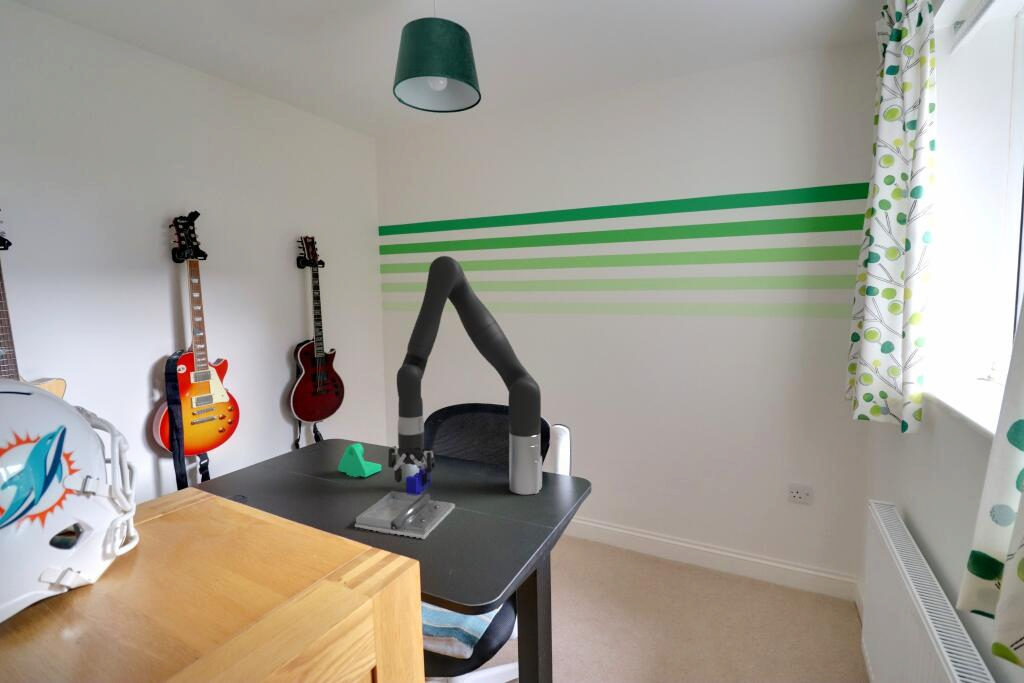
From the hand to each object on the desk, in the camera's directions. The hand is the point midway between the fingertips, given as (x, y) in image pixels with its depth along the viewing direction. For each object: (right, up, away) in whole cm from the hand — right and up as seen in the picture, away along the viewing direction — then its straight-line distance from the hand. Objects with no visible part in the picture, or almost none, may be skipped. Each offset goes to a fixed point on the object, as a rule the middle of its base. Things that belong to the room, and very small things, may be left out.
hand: (411, 483), depth 141 cm
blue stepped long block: (+1, -2, 0) cm, 3 cm away
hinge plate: (+3, -4, -18) cm, 18 cm away
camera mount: (-20, -1, +14) cm, 24 cm away
